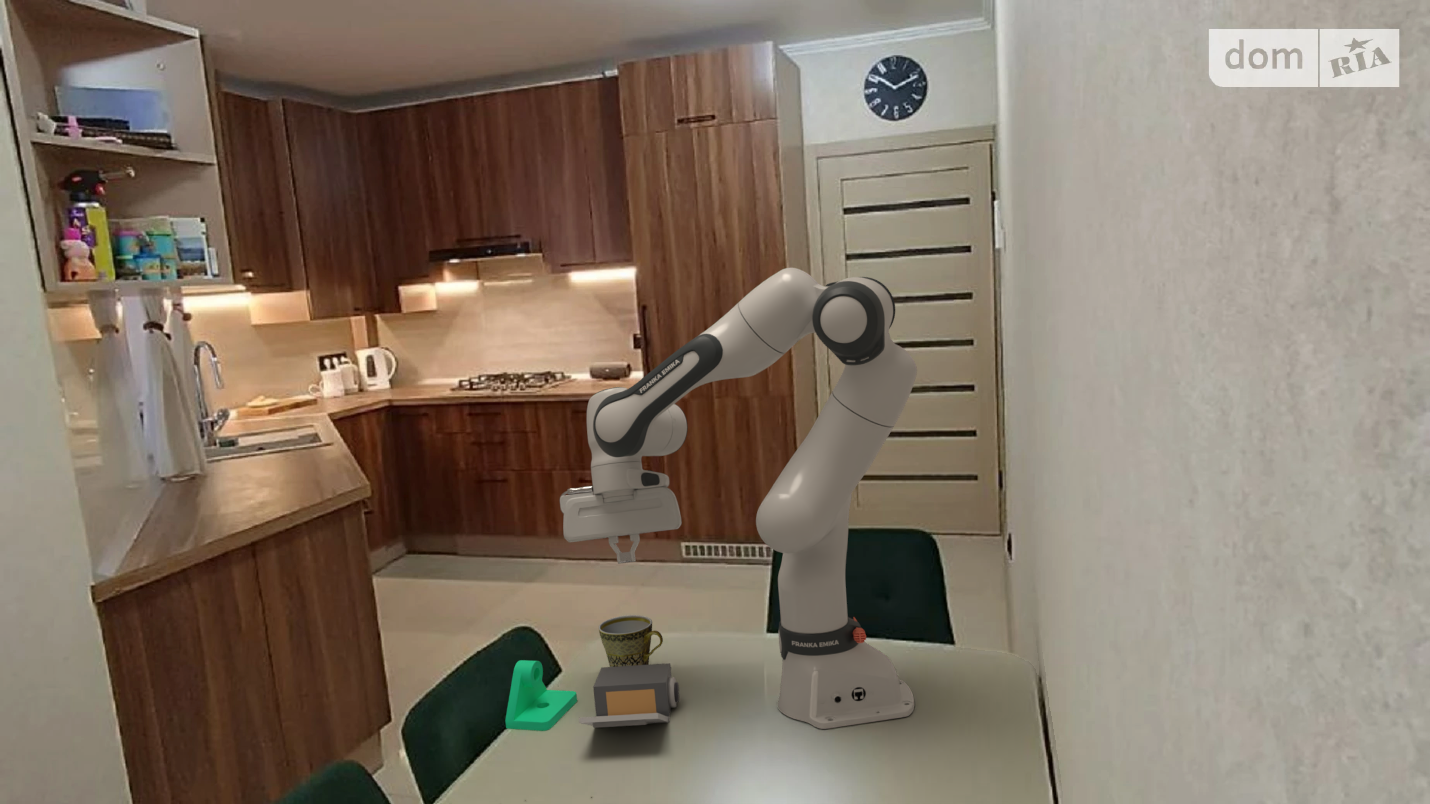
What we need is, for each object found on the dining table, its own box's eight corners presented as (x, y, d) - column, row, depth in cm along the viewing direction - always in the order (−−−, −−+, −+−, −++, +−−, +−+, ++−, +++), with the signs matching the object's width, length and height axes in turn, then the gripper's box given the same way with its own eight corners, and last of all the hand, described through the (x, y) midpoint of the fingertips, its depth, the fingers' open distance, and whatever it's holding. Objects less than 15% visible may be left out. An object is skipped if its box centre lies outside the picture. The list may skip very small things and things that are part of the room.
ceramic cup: (592, 682, 170) (587, 630, 169) (623, 662, 179) (619, 612, 178) (651, 692, 164) (646, 638, 163) (680, 670, 173) (675, 619, 172)
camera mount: (548, 738, 150) (542, 677, 149) (507, 735, 152) (500, 675, 151) (580, 705, 161) (574, 649, 160) (540, 703, 164) (534, 647, 162)
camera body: (681, 701, 159) (678, 662, 158) (677, 722, 151) (674, 682, 150) (605, 706, 160) (601, 667, 159) (597, 727, 152) (593, 687, 151)
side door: (669, 716, 151) (659, 712, 138) (670, 726, 150) (659, 723, 138) (595, 720, 151) (577, 716, 139) (595, 731, 151) (577, 728, 139)
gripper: (555, 488, 156) (562, 570, 154) (674, 473, 156) (684, 555, 154) (562, 490, 163) (569, 569, 160) (677, 476, 162) (686, 555, 160)
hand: (626, 562), depth 157 cm, fingers closed
